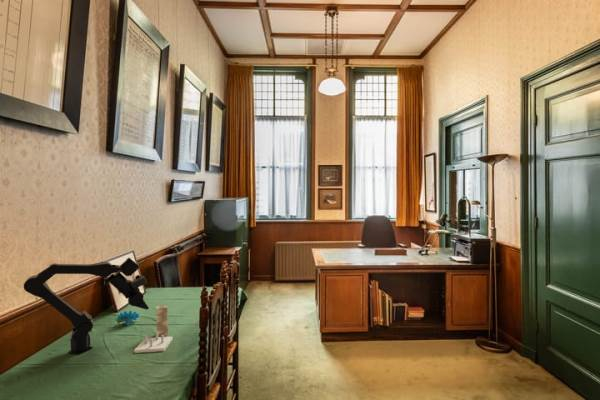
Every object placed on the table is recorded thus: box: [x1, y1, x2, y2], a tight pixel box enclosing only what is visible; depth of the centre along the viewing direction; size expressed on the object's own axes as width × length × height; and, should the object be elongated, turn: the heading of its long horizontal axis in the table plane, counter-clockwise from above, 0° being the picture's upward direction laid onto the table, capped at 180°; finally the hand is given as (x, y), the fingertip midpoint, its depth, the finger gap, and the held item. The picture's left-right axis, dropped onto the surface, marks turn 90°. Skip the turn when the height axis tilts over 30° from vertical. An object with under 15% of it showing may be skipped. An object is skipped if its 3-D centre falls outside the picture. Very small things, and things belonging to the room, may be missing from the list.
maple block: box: [155, 304, 169, 337], centre depth 159 cm, size 4×4×13 cm
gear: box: [114, 310, 140, 327], centre depth 173 cm, size 11×6×10 cm
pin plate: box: [134, 331, 174, 354], centre depth 147 cm, size 12×12×4 cm
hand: (146, 306), depth 159 cm, fingers open, 9 cm apart
